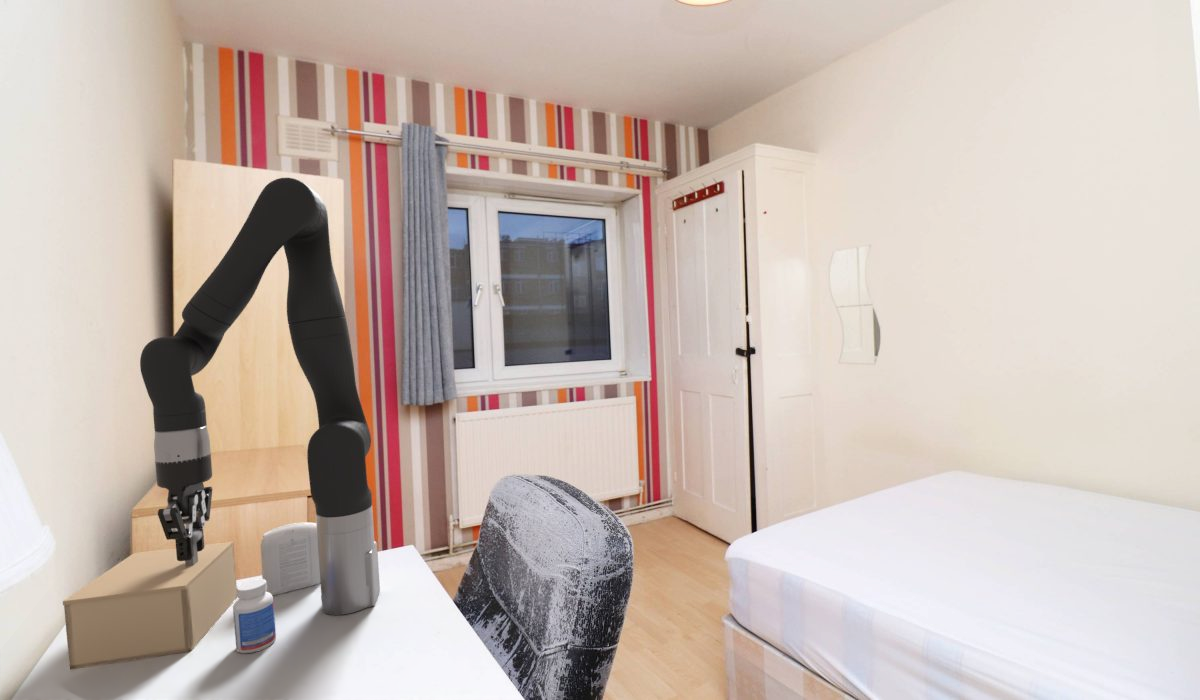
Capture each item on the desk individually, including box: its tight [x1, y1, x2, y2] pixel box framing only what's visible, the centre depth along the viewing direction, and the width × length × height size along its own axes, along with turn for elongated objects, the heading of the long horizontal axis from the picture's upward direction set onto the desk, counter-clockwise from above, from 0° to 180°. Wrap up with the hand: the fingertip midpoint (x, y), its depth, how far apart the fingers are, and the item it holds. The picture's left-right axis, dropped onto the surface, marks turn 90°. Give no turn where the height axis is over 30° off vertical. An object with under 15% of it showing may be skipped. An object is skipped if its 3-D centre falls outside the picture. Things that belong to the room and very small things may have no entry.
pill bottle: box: [232, 578, 277, 654], centre depth 88 cm, size 6×5×10 cm
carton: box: [63, 544, 238, 670], centre depth 94 cm, size 16×18×10 cm
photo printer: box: [260, 521, 321, 596], centre depth 108 cm, size 10×4×12 cm, turn 123°
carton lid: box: [62, 528, 235, 606], centre depth 94 cm, size 16×18×6 cm
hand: (191, 554), depth 95 cm, fingers closed on carton lid, 3 cm apart
